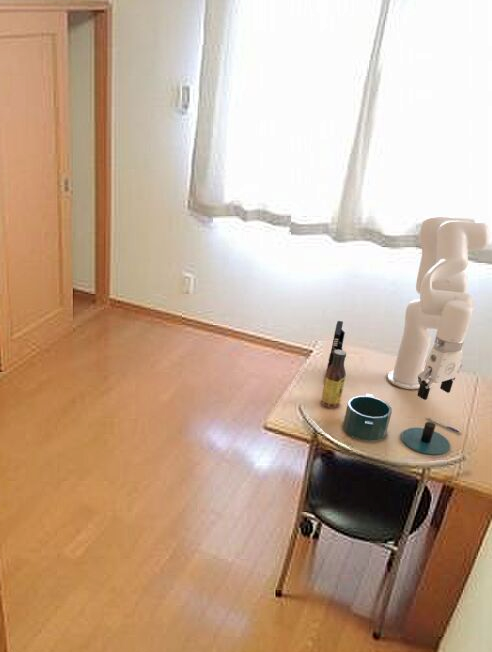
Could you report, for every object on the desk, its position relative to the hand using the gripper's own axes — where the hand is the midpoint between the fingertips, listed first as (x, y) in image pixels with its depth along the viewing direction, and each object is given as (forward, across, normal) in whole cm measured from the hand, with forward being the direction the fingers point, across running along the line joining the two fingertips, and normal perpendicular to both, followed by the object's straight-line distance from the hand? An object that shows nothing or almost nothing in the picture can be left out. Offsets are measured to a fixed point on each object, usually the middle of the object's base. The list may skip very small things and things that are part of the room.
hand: (433, 394), depth 196 cm
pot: (+18, -11, +13) cm, 24 cm away
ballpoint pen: (+18, +14, +3) cm, 23 cm away
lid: (+17, +1, -1) cm, 17 cm away
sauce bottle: (+18, -10, +30) cm, 36 cm away
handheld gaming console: (+18, +3, +44) cm, 47 cm away
